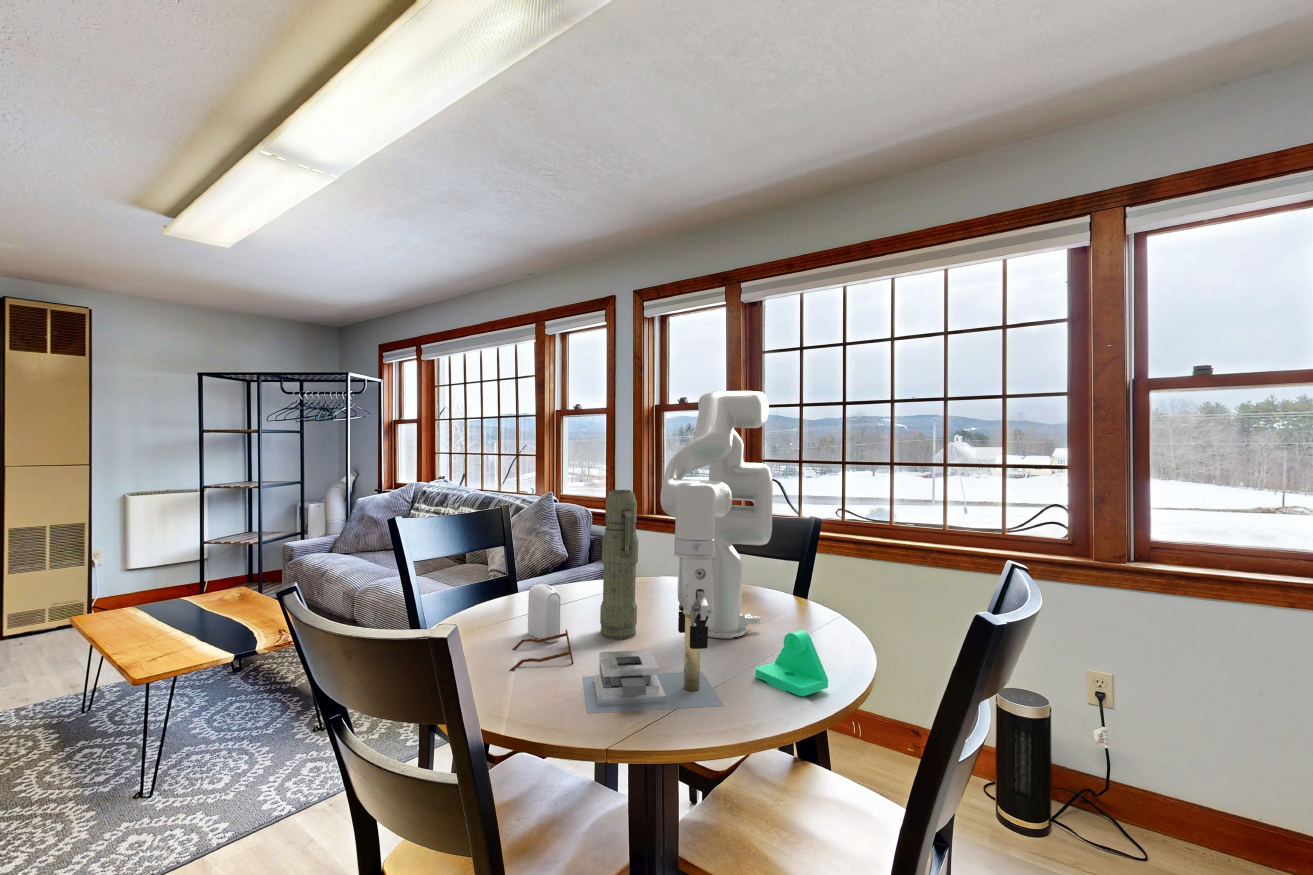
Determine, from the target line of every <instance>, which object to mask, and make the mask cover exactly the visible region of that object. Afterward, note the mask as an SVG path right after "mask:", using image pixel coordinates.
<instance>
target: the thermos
mask: <svg viewBox="0 0 1313 875" xmlns="http://www.w3.org/2000/svg"><path fill="white" fill-rule="evenodd" d="M637 504H638V501H637V498H636V495H635V492H634V491H632V490H630V489H612V490H611V491H609V492H608V495H607V498H606V501H605V520H604V522H605V528H604V529H605V530H604V531H605V532H604V535H603V538H602V548H601V549H602V550H601V561H602V564H603V582H602V584H603V585H602V587H603V588H602V590H603V591H602V592H603V593H602V602H601V605H600V612H599V613H600V616H599V617H600V618H599V619H600V620H599V621H600V622H599V623H600V635H601V636H602V637H603V638H606V639H611V640H625V639H630V638H633V637H634V636H636V634H637V623H638V605H637V603H636V581H637V579H636V578H637V576H636V575H637V574H636V573H637V564H638V562H639V538H638V535H637V527H636V523H637V515H638V514H637V512H638V511H637V510H638V509H637V508H638V506H637Z"/></svg>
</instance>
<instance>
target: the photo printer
mask: <svg viewBox="0 0 1313 875" xmlns="http://www.w3.org/2000/svg"><path fill="white" fill-rule="evenodd" d="M527 602H528V603H527V604H528V605H527V606H528V609H527V611H528V612H527V633H528V634H529V635H531V636H532V637H534V638H535V639H536V638H537V639H538V640H539V639H543V638H547V637H551V636H555V635H559V634H561V628H560V627H561V596H560V594H559V592H558V591H557V590H556V589H555V588H554V587H552V586H550V585H548V584H547V583H546V584H545V583H540V584H534V585H532V586H531V587H530V589H529V591H528V600H527ZM559 640H560V638H556V639H552V640H548V641H544V642H546V643H548V644H549V643H555V642H558V641H559Z"/></svg>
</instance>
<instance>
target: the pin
mask: <svg viewBox="0 0 1313 875" xmlns="http://www.w3.org/2000/svg"><path fill="white" fill-rule="evenodd" d="M683 614H685V633H684V656H683V657H684V658H683V659H684V660H683V662H684V663H683V672H684V690H686V691H690V692H695V691H698V690H699V689H700V672H701V650H702V649H691V648H690V626H691V625H692V621H691V614H690V613H689V612H687V611H686V610H685V609H684V608H683ZM696 617H697V614H695V618H696Z"/></svg>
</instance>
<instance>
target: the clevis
mask: <svg viewBox="0 0 1313 875" xmlns="http://www.w3.org/2000/svg"><path fill="white" fill-rule="evenodd" d="M598 658H599V660H598V662H599V664H598V666H599V667H598V674H593V676H594V687H595V693H596V699H597V705H598V706H610V705H629V704H649V703H666V695H665V693H664V690H663V688H662V686H661V684H660V682H659V679H658V677H657V675H659V673H660V666H659V664H658V662H657V660H656V658H655V656H654V654H653V651H652V650H647V649H645V650H627V651H626V650H623V651H622V650H621V651H620V650H619V651H618V650H617V651H600V652H599V657H598Z"/></svg>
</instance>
